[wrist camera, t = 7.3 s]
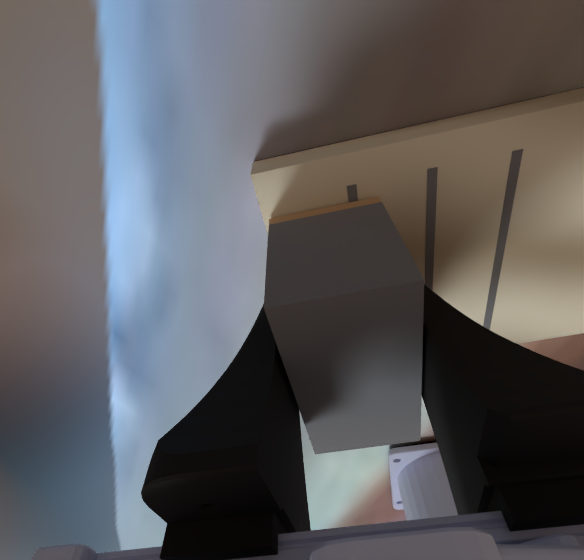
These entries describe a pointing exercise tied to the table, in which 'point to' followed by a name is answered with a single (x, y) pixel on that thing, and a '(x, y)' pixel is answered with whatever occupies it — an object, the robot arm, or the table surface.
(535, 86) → the table surface
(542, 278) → the plank
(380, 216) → the block
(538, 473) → the robot arm
